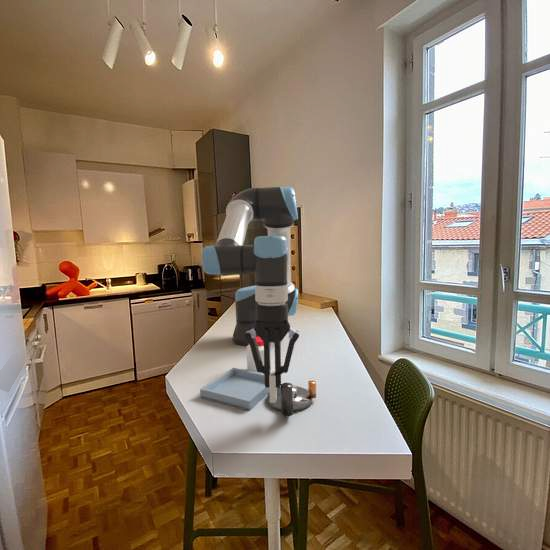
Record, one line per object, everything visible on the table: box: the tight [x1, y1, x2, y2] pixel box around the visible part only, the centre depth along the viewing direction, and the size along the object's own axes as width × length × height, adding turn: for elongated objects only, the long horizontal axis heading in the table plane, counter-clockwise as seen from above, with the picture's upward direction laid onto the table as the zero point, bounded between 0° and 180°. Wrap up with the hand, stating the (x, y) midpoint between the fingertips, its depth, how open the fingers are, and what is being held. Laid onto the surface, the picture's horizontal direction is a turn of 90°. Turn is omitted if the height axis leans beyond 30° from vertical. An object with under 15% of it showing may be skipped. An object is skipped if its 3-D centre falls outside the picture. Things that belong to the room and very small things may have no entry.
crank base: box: [266, 380, 317, 413], centre depth 84 cm, size 13×12×5 cm
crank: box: [280, 382, 297, 417], centre depth 80 cm, size 12×4×7 cm, turn 174°
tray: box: [199, 367, 270, 412], centre depth 90 cm, size 16×16×2 cm
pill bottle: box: [246, 337, 272, 373], centre depth 103 cm, size 8×8×11 cm
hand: (273, 399), depth 75 cm, fingers closed
